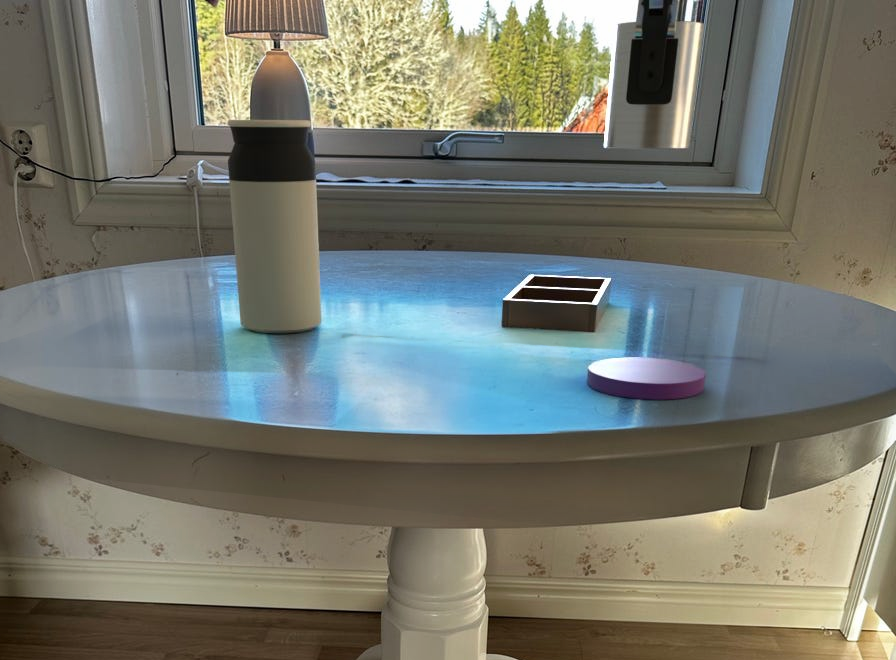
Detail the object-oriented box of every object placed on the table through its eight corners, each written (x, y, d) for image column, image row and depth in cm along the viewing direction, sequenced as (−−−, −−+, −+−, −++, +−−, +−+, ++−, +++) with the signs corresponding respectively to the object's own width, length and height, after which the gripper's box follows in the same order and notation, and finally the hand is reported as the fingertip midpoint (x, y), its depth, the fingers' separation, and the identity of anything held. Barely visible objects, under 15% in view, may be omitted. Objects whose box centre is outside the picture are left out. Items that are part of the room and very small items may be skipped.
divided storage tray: (608, 308, 106) (611, 278, 104) (594, 338, 91) (597, 304, 89) (527, 303, 108) (529, 274, 106) (500, 332, 93) (502, 299, 91)
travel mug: (313, 335, 91) (304, 120, 82) (231, 333, 91) (214, 119, 83) (327, 320, 98) (320, 120, 89) (251, 318, 98) (236, 119, 90)
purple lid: (703, 375, 78) (705, 361, 77) (703, 403, 70) (706, 387, 70) (592, 368, 80) (593, 354, 79) (581, 394, 72) (582, 379, 72)
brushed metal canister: (690, 147, 75) (705, 27, 71) (687, 149, 70) (703, 19, 66) (608, 146, 77) (618, 29, 73) (599, 148, 71) (610, 21, 68)
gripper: (746, -253, 55) (700, 103, 64) (740, -175, 70) (704, 106, 78) (614, -242, 57) (587, 103, 65) (636, -168, 72) (611, 106, 80)
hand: (651, 102), depth 72 cm, fingers closed on brushed metal canister, 6 cm apart
